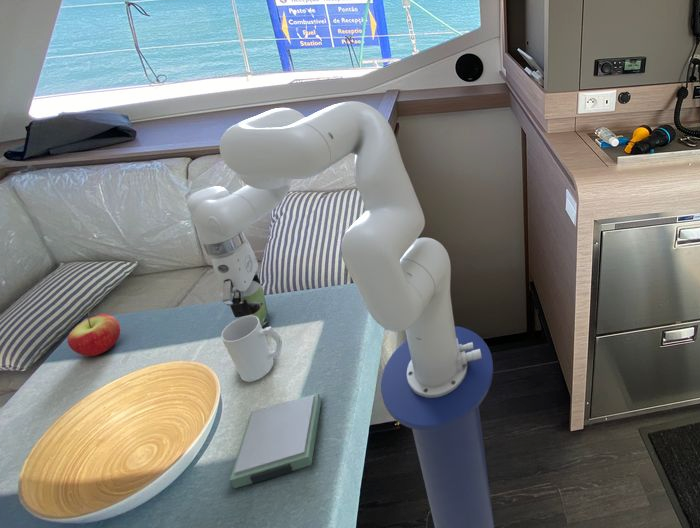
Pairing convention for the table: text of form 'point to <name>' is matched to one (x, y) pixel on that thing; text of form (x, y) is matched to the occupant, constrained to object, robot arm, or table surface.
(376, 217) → the robot arm
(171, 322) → the table surface
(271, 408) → the scale
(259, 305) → the beverage can
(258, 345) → the mug
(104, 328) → the apple
